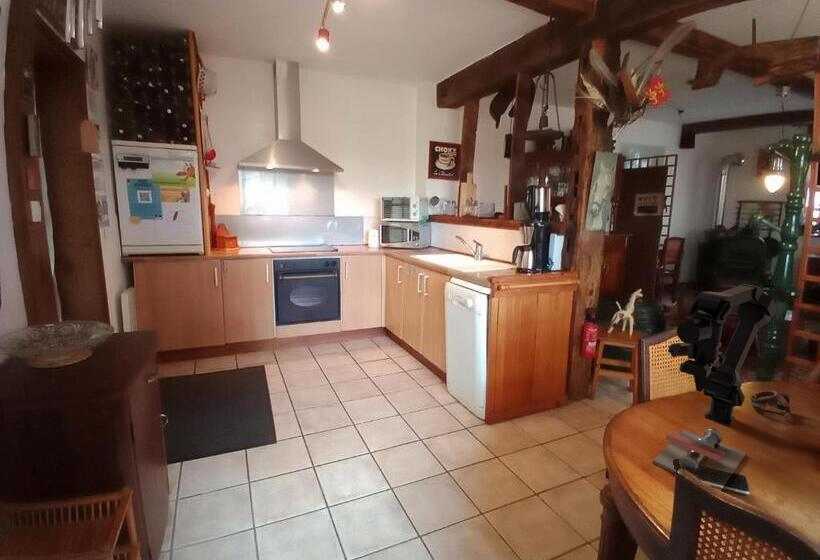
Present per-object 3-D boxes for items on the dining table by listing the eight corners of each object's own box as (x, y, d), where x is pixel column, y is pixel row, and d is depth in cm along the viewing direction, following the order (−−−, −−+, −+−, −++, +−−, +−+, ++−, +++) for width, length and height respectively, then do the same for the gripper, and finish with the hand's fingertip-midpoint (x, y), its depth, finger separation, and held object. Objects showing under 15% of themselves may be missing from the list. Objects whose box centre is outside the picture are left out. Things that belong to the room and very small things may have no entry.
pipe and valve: (703, 438, 114) (705, 425, 113) (722, 446, 110) (724, 432, 109) (676, 467, 101) (678, 453, 100) (697, 477, 98) (700, 462, 97)
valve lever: (678, 429, 109) (666, 434, 103) (729, 448, 100) (720, 455, 94) (677, 434, 109) (665, 440, 103) (728, 454, 100) (719, 461, 94)
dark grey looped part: (786, 427, 123) (772, 401, 124) (752, 425, 132) (739, 400, 133) (807, 409, 127) (793, 384, 128) (773, 409, 136) (760, 385, 137)
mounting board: (684, 432, 118) (684, 429, 118) (745, 455, 108) (746, 452, 108) (652, 463, 104) (652, 460, 104) (719, 493, 93) (720, 490, 93)
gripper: (685, 325, 126) (678, 373, 129) (662, 337, 115) (655, 389, 118) (730, 334, 118) (721, 385, 121) (710, 348, 106) (700, 404, 109)
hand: (698, 390), depth 117 cm, fingers closed
